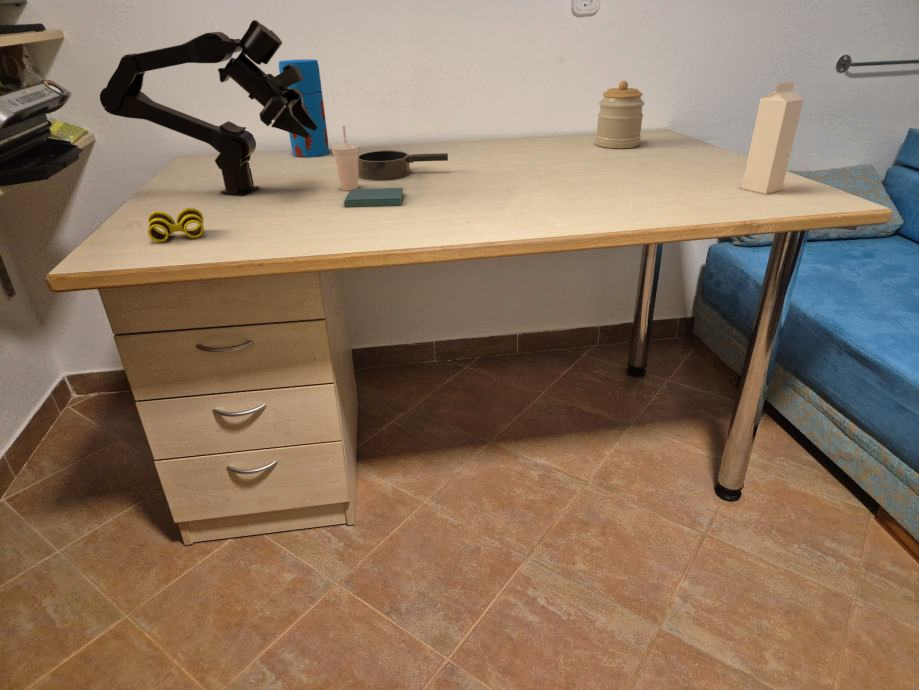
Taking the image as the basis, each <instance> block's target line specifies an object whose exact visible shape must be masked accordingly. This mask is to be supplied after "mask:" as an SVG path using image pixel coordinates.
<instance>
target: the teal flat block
mask: <svg viewBox="0 0 919 690" xmlns="http://www.w3.org/2000/svg"><path fill="white" fill-rule="evenodd" d="M403 191H404V188H403V187H383V188H382V187H381V188H357V189H352V190H348V194H347V195H346V197H345V199H344V201H343V204H344V208H361V207H363V208H364V207H366V208H367V207H394V206H395V207H399V206H401V205H402V200H403V195H404V192H403Z"/></svg>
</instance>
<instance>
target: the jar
mask: <svg viewBox="0 0 919 690" xmlns="http://www.w3.org/2000/svg"><path fill="white" fill-rule="evenodd" d="M643 94H644V93H642V92H641V91H639V89H638V88H633V87H629V83H628V81H626V80H621V81H620V82H619V83H618V87H613V88H608V89H607V90H606V91H604V92H603V93H602V96H603V98H602V99H601V100H600V101H599V102H598V105H599V106H600V107H599V113H597V128H596V134H595V143H596V146H599V147H602V148H608V149H631V148H636V147H638V146H640V142H641V132H642V123H643V118H644V114H643V107H644V105H645V104H646V103H645V101H644V100H642V97H643Z"/></svg>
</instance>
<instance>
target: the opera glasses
mask: <svg viewBox="0 0 919 690" xmlns="http://www.w3.org/2000/svg"><path fill="white" fill-rule="evenodd" d="M147 222H148V229H147V235H148V237H149V238H150V239H151V240H152V241H154V242H156V243H164V242H166V241H167V240H168V238H169V237H170V236H171V235H172V234H174V233H176V232H181V233H182V232H183V233H185V235H186V236H187V237H189V238H192V239H195V238H196V239H197V238H199V237H201V236H202V235H203V234H204V232H205V227H204V216H203V213H202V212H201V211H200V210H199V209H198V208H195V207H186V208H183V209H182V210H181V211H179V213H178V214H177V217H176V221H175V219H174V218H173V217H172V215H170V214H169V213H167V212H165V211H159V210H158V211H157V210H156V211H153V212H152V213H150V214H149V216H148V219H147ZM190 224H197V225H196V226H195V227H193V228H187V227H188V226H189V225H190ZM158 228H159V229H158ZM160 229H162V230H160Z"/></svg>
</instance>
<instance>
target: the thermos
mask: <svg viewBox="0 0 919 690" xmlns="http://www.w3.org/2000/svg"><path fill="white" fill-rule="evenodd" d="M288 64H291V65H292V66H295V65H296V66H297V67H298V69H300V70H301V72H300V73H301V74H302V76H303V78H304V79H303V80H301V81H300V82H297V83H296V84H292V85H291V86H289V87H287V88H288V89H289V88H297V89H298V90H299V91H300V92H301V93H302V95H301V96H303V106H304V108H305V110H306V111H307V113H308V114H309V116H310V117H311V118H312V120H313V121H314V123H315V124H316V126H317V129H316V130H315V131H314V130H311V129H309V128H307V127H305V126H303V125H302V126H303V127H304V128H305V129H306V130H307V131H308V133H309V134H310V135H309V137H308V138H304V137H301V136H299V135H296V134H293V133H290V132H288V134H289V135H288V136H289V141H290V142H289V143H290V146H291V152H292V155H293V156H294V157H296V158H315V157H316V158H317V157H321V156H325V155H327V154H329V153H330V150H329V136H328V128H327V121H326V112H325V105H324V104H325V103H324V98H323V97H324V96H323V88H322V81H321V74H320V73H321V72H320V66H319V61H318V59H313V58H312V59H311V58H310V59H306V58H305V59H304V58H303V59H286V60H280V61H279V60H278V71H279V74H280V73H282V72H283V67H285V66H287V65H288ZM301 96H300V97H301ZM300 97H299V98H300Z"/></svg>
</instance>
